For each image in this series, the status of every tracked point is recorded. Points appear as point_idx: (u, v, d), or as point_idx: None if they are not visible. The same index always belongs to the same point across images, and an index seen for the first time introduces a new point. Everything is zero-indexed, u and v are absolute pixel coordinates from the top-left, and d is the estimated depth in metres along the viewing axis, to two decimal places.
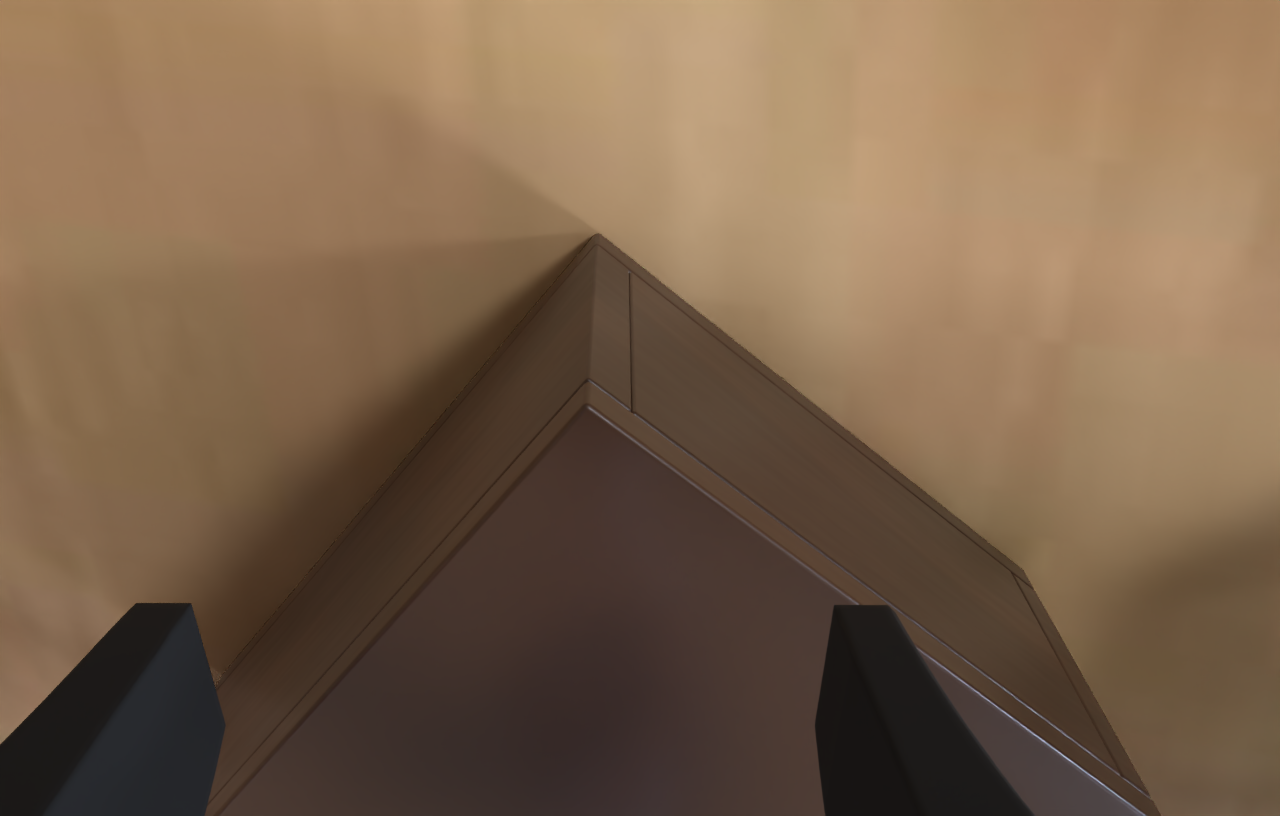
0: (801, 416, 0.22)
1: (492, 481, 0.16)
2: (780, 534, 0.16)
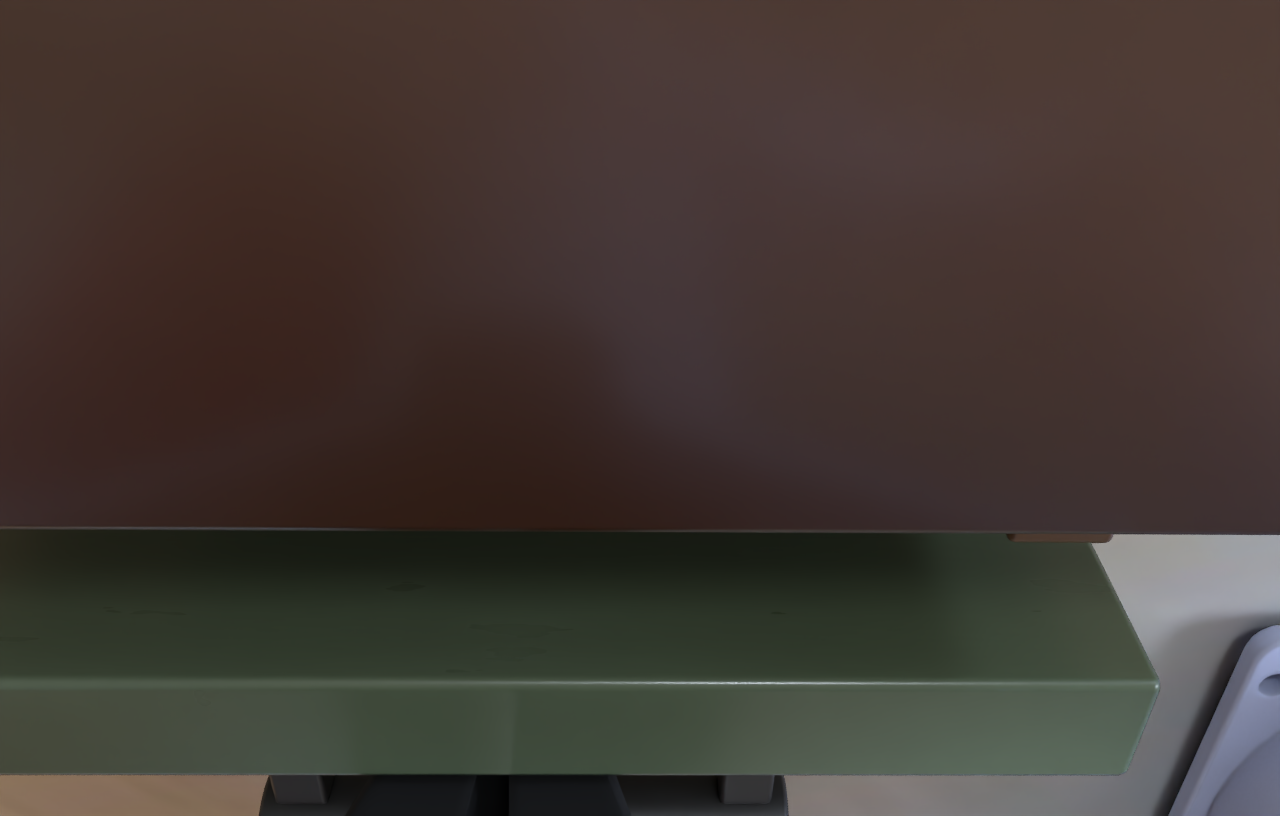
0: None
1: None
2: None
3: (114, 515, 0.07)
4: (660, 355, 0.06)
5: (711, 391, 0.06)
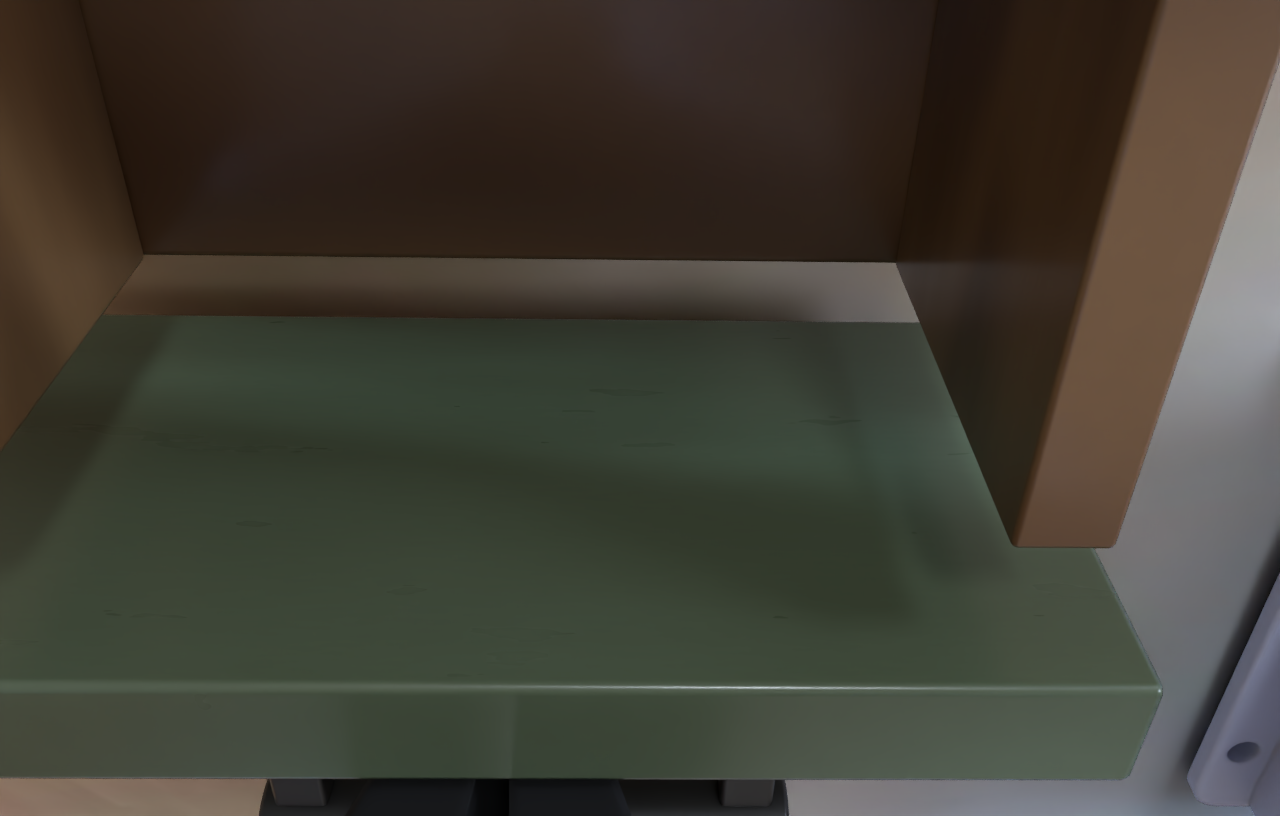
0: None
1: None
2: None
3: None
4: None
5: None
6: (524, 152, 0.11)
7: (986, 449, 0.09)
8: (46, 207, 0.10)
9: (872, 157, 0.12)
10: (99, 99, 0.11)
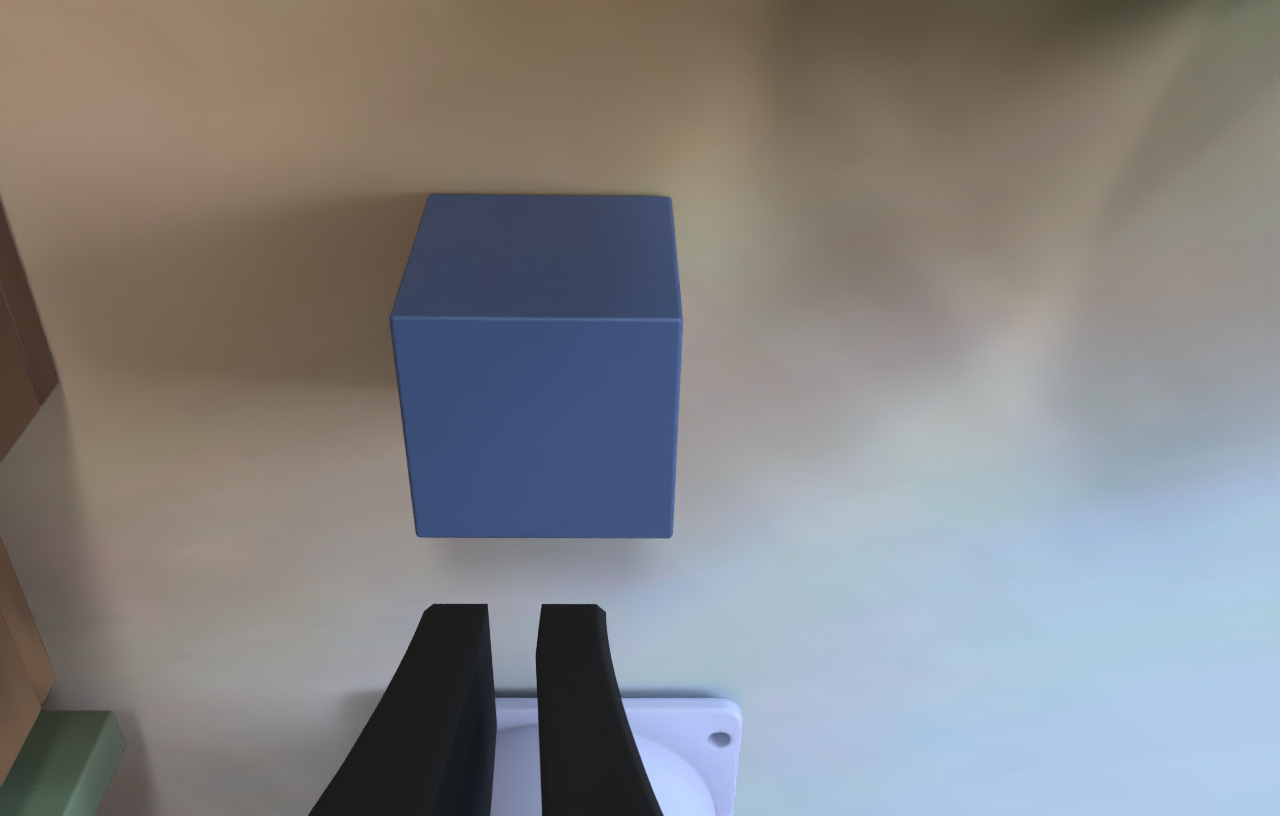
0: None
1: None
2: None
3: None
4: None
5: None
6: None
7: None
8: None
9: None
10: None
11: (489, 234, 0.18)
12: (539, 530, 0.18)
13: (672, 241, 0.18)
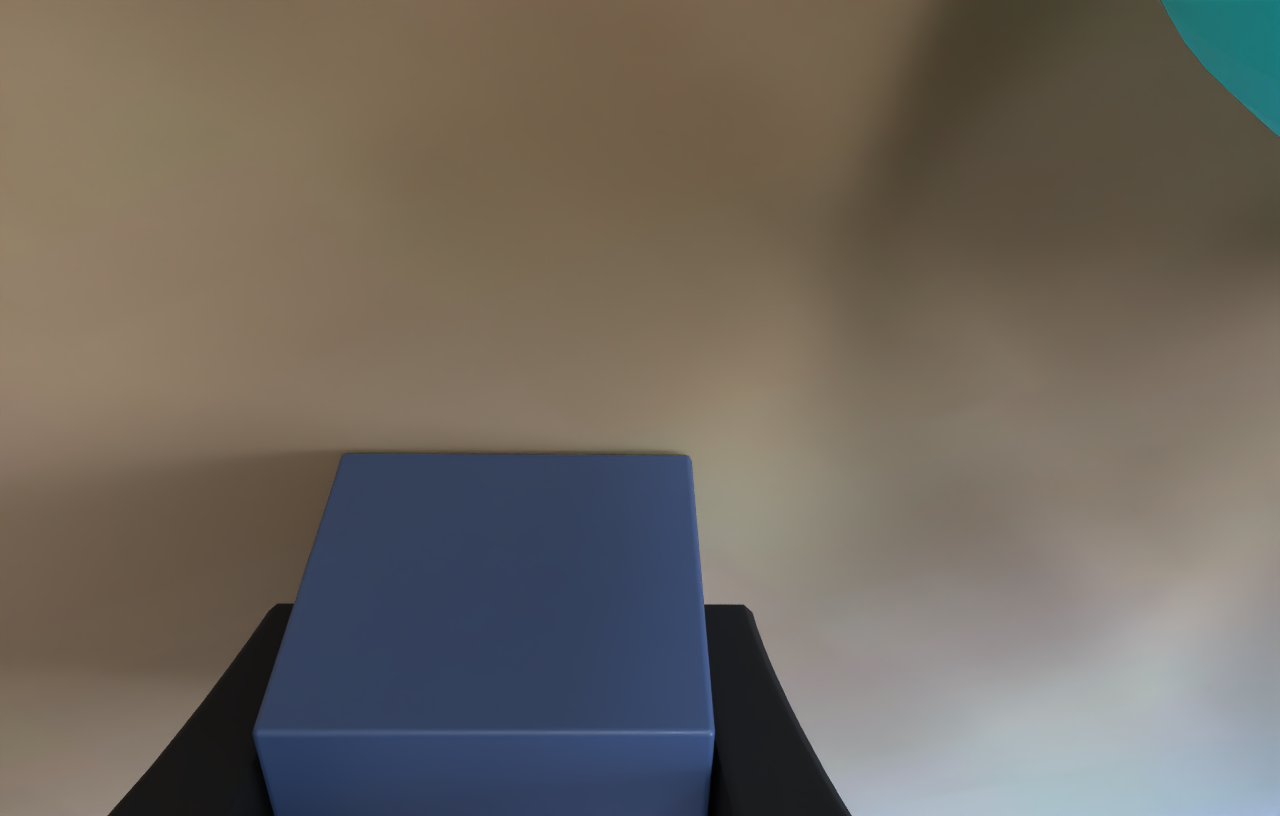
0: None
1: None
2: None
3: None
4: None
5: None
6: None
7: None
8: None
9: None
10: None
11: (423, 539, 0.12)
12: None
13: (694, 551, 0.12)
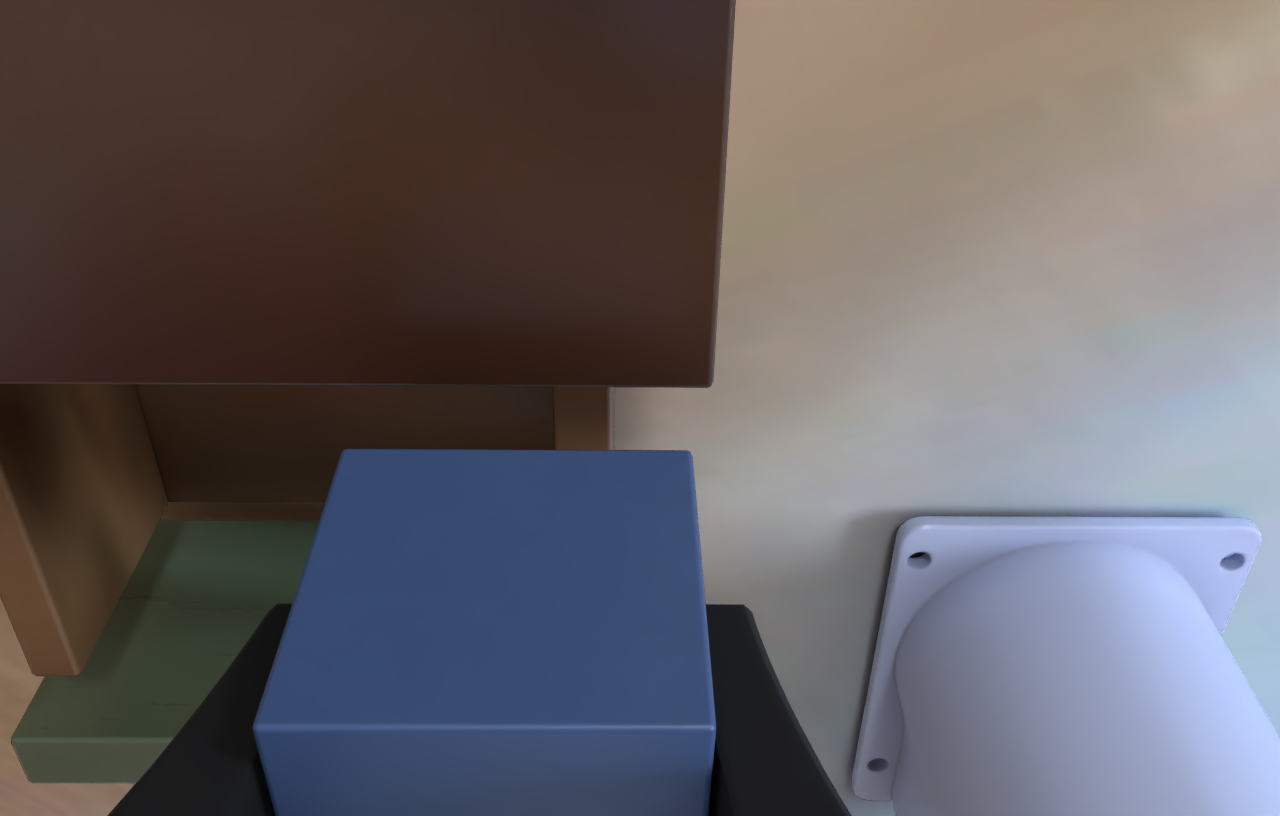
0: None
1: None
2: None
3: (63, 375, 0.14)
4: (314, 294, 0.14)
5: (341, 312, 0.14)
6: None
7: None
8: (123, 503, 0.20)
9: None
10: (146, 435, 0.21)
11: (423, 534, 0.12)
12: None
13: (695, 546, 0.12)
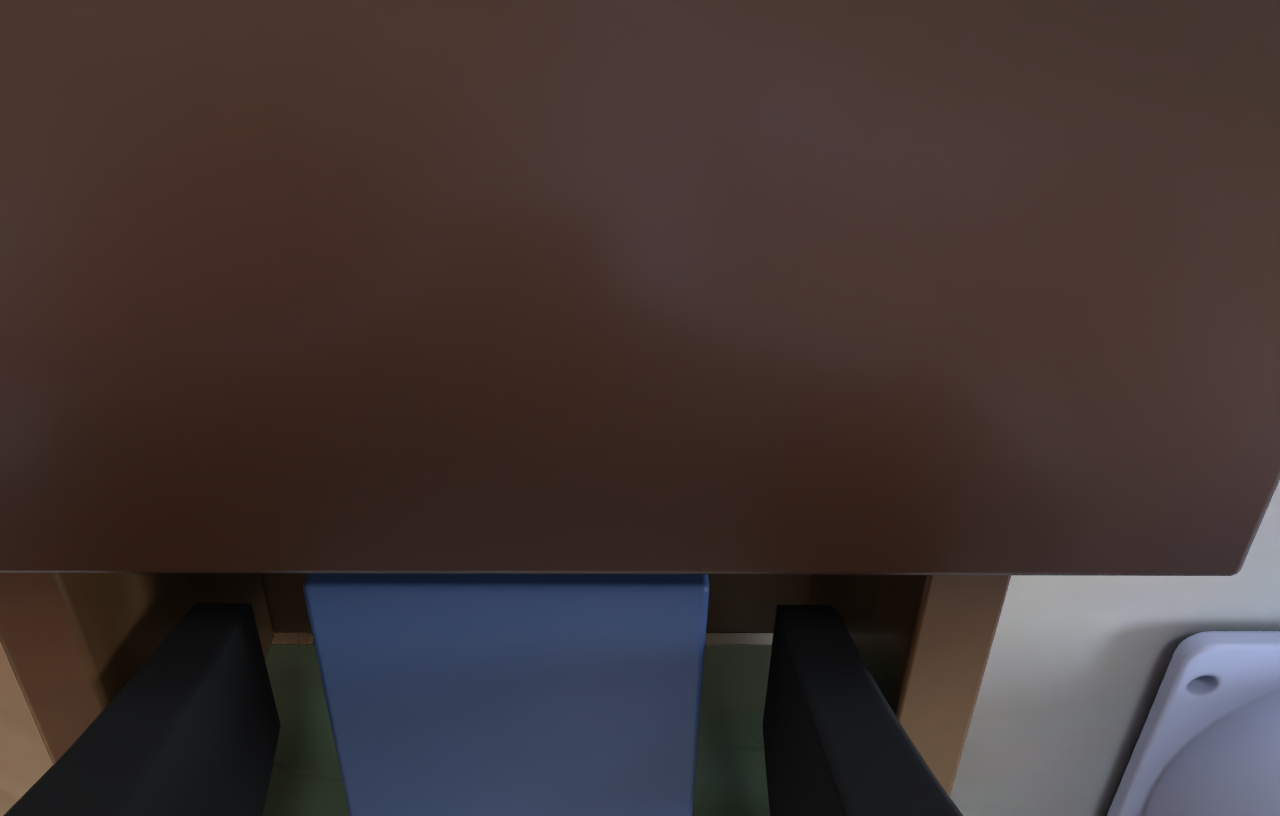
0: None
1: None
2: None
3: (216, 562, 0.09)
4: (642, 443, 0.08)
5: (681, 469, 0.08)
6: None
7: None
8: None
9: (783, 576, 0.17)
10: None
11: None
12: None
13: None
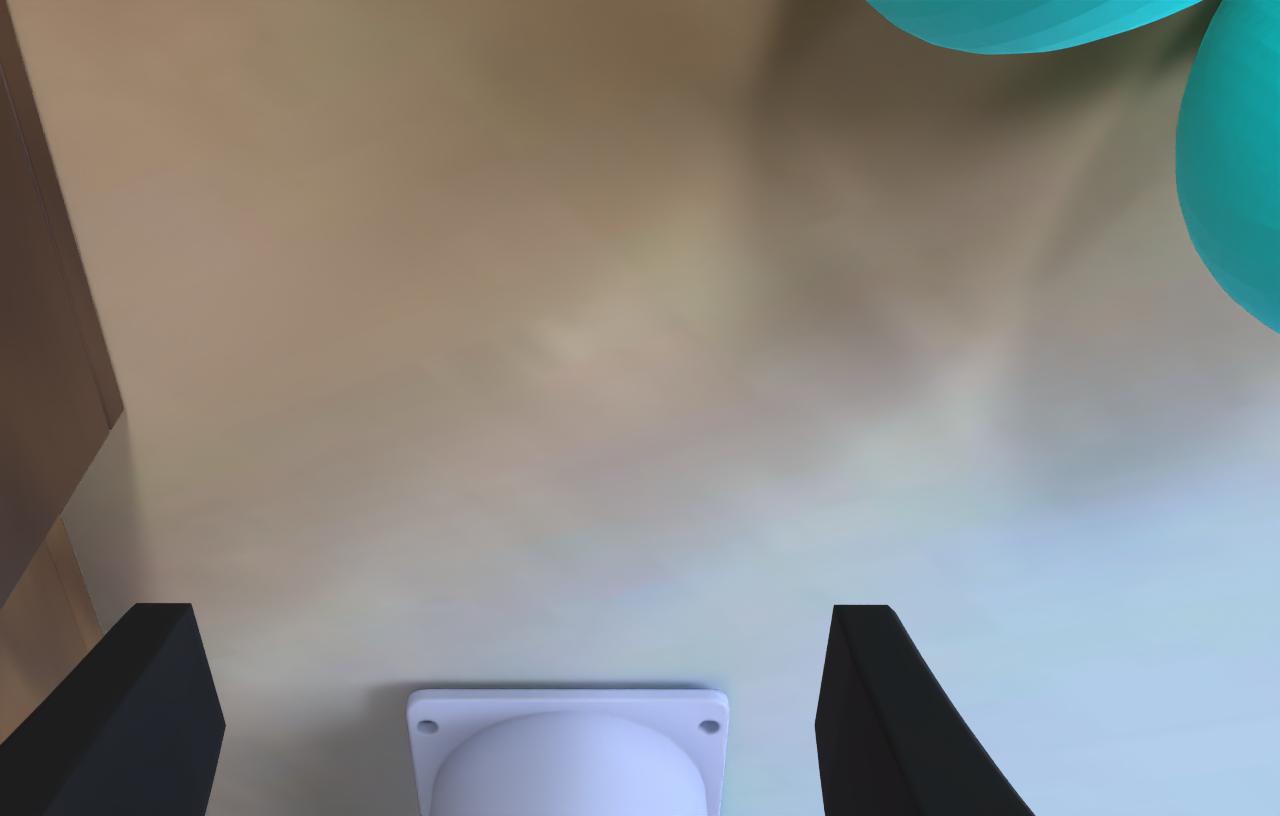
0: None
1: None
2: None
3: None
4: None
5: None
6: None
7: None
8: None
9: None
10: None
11: None
12: None
13: None
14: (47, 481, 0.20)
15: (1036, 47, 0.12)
